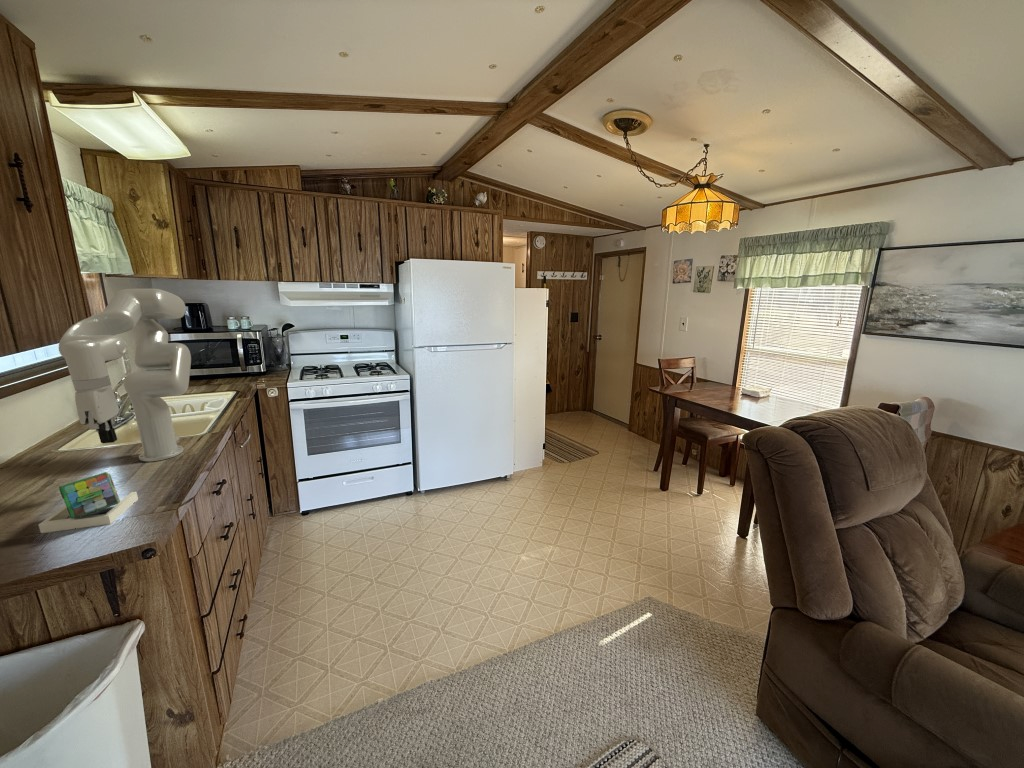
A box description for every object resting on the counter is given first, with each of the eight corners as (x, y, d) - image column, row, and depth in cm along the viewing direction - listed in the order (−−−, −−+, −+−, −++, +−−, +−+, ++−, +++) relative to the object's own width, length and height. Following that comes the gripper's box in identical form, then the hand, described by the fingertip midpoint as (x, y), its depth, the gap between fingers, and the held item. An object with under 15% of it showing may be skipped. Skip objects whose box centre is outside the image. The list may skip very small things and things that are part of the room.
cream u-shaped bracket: (76, 506, 117) (74, 498, 116) (138, 499, 121) (136, 491, 120) (41, 533, 105) (38, 524, 104) (110, 523, 109) (108, 515, 108)
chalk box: (109, 473, 117) (106, 469, 107) (121, 502, 118) (119, 502, 107) (63, 487, 111) (55, 485, 100) (76, 518, 111) (69, 520, 101)
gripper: (92, 377, 124) (108, 433, 129) (57, 392, 110) (77, 454, 115) (123, 375, 126) (138, 430, 131) (92, 390, 112) (110, 451, 118)
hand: (109, 441), depth 123 cm, fingers closed
